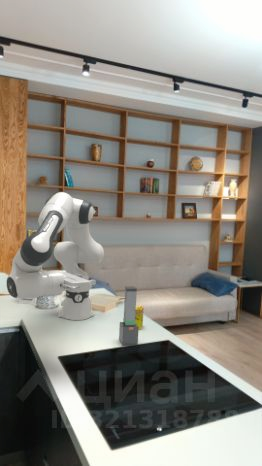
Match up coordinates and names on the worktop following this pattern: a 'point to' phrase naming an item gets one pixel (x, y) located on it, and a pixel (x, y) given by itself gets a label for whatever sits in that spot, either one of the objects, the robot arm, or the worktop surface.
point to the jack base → (128, 335)
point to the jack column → (130, 306)
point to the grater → (32, 302)
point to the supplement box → (139, 316)
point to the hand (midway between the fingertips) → (88, 279)
